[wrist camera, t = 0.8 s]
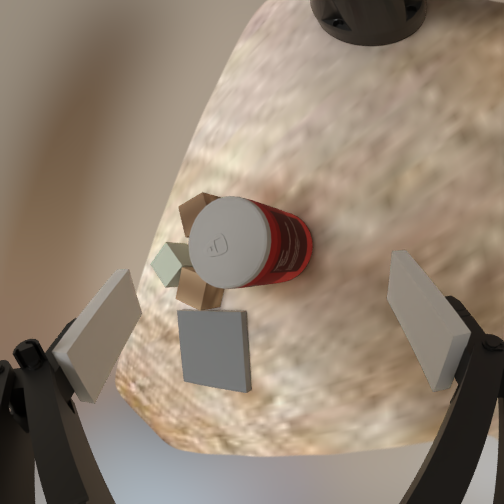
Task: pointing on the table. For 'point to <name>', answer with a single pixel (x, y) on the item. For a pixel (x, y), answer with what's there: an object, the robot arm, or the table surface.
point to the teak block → (197, 291)
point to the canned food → (247, 244)
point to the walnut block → (194, 210)
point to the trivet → (215, 348)
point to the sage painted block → (171, 263)
